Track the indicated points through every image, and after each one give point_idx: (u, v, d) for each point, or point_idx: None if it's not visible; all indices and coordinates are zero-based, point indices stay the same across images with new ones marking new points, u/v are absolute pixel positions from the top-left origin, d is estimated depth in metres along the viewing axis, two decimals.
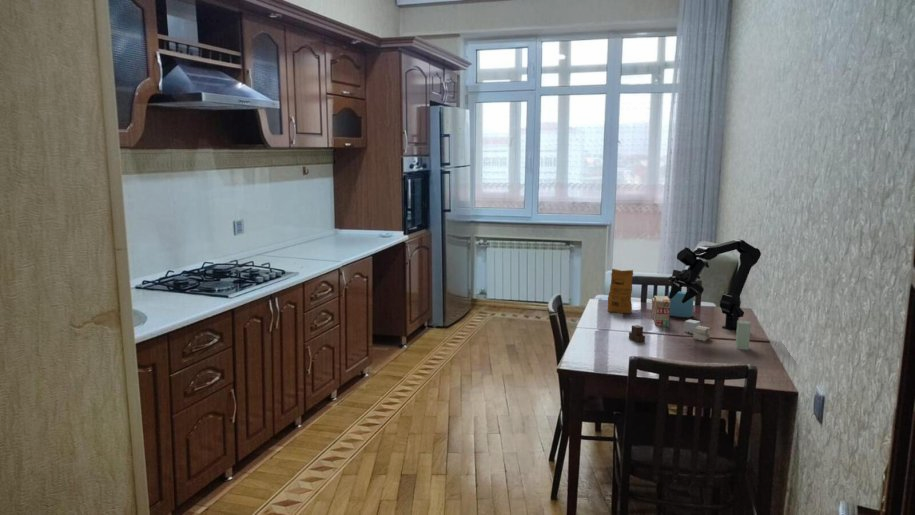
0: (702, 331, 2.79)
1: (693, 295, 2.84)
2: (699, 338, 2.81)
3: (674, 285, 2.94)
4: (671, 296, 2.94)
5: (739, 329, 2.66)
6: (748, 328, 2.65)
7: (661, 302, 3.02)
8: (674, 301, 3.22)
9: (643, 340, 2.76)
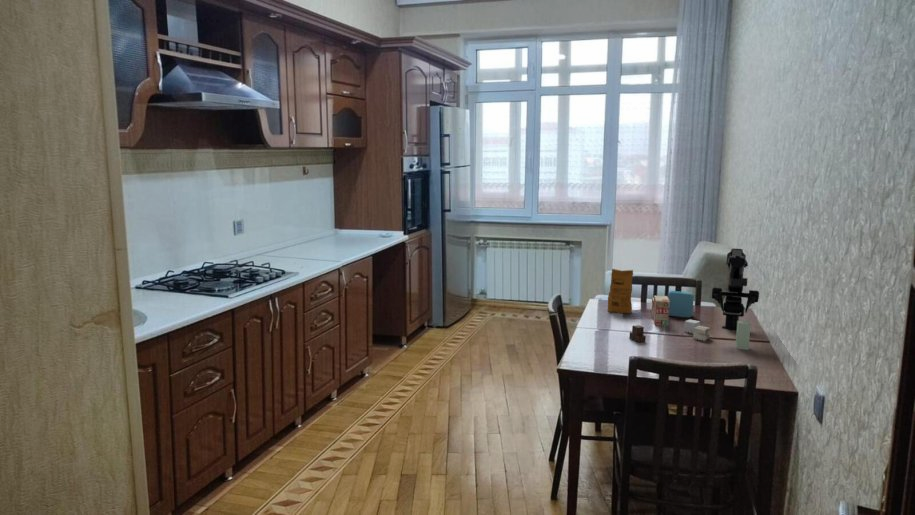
0: (702, 331, 2.79)
1: (750, 304, 2.77)
2: (699, 338, 2.81)
3: None
4: (723, 308, 2.78)
5: (739, 329, 2.66)
6: (748, 328, 2.65)
7: (660, 302, 3.02)
8: (674, 301, 3.22)
9: (644, 340, 2.76)
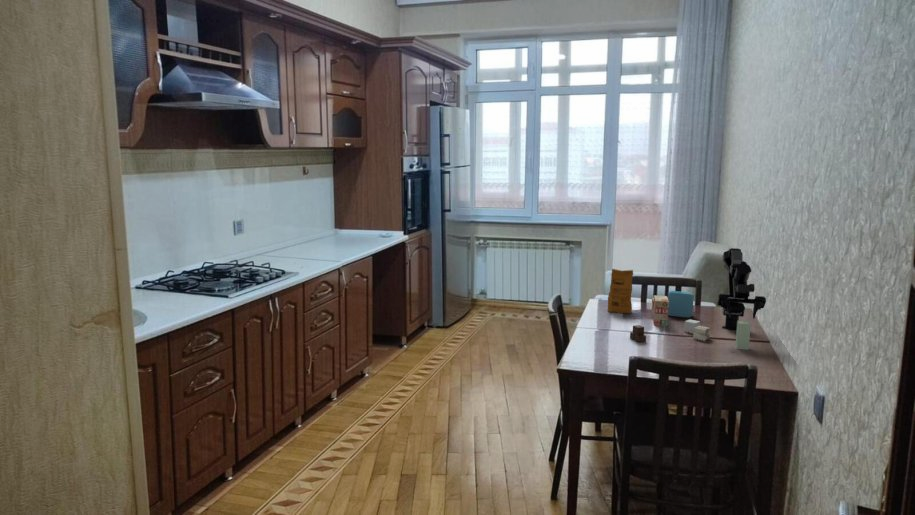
0: (702, 331, 2.79)
1: (756, 310, 2.75)
2: (699, 338, 2.81)
3: None
4: (731, 314, 2.74)
5: (739, 329, 2.66)
6: (748, 328, 2.65)
7: (660, 302, 3.02)
8: (674, 301, 3.22)
9: (644, 340, 2.76)
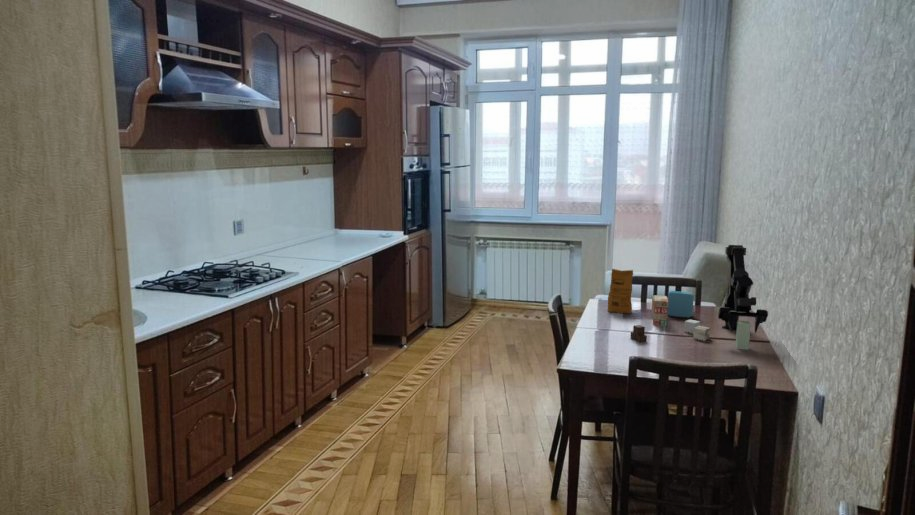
0: (702, 331, 2.79)
1: (758, 324, 2.70)
2: (699, 338, 2.81)
3: None
4: None
5: (739, 329, 2.66)
6: (748, 328, 2.65)
7: (659, 302, 3.02)
8: (674, 301, 3.22)
9: (645, 340, 2.76)
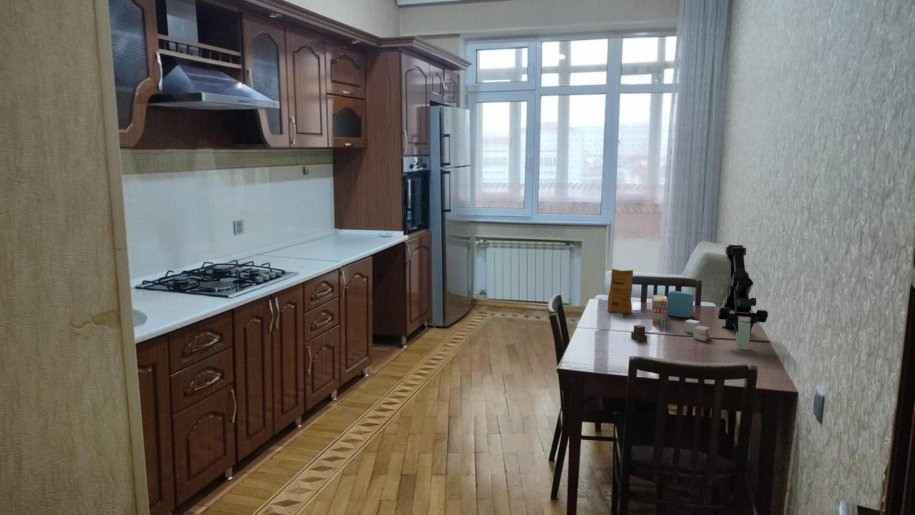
0: (702, 331, 2.79)
1: (753, 324, 2.70)
2: (699, 338, 2.81)
3: None
4: (737, 329, 2.68)
5: (739, 329, 2.66)
6: (748, 328, 2.65)
7: (658, 301, 3.03)
8: (674, 301, 3.22)
9: (645, 340, 2.77)
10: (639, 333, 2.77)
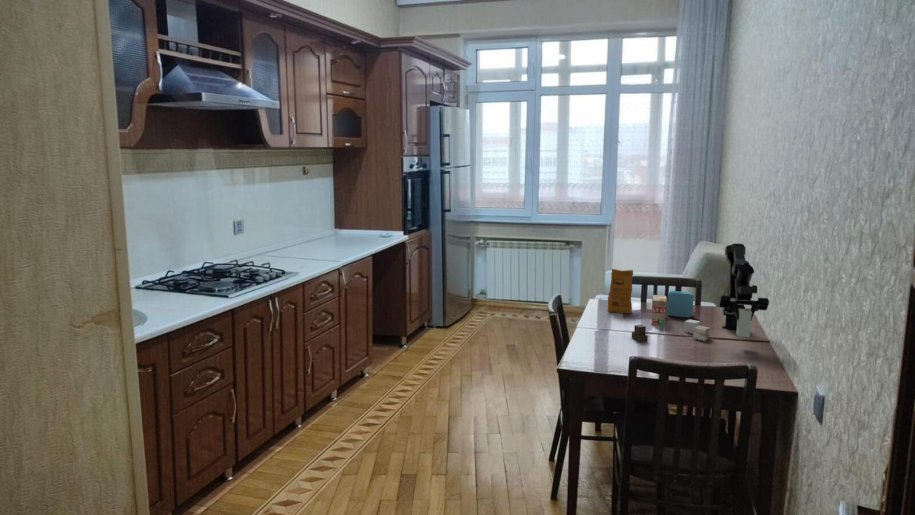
0: (702, 331, 2.79)
1: (754, 312, 2.69)
2: (699, 338, 2.81)
3: None
4: (738, 317, 2.67)
5: (740, 317, 2.66)
6: (749, 316, 2.65)
7: (657, 301, 3.03)
8: (674, 301, 3.22)
9: (646, 340, 2.77)
10: (640, 333, 2.77)
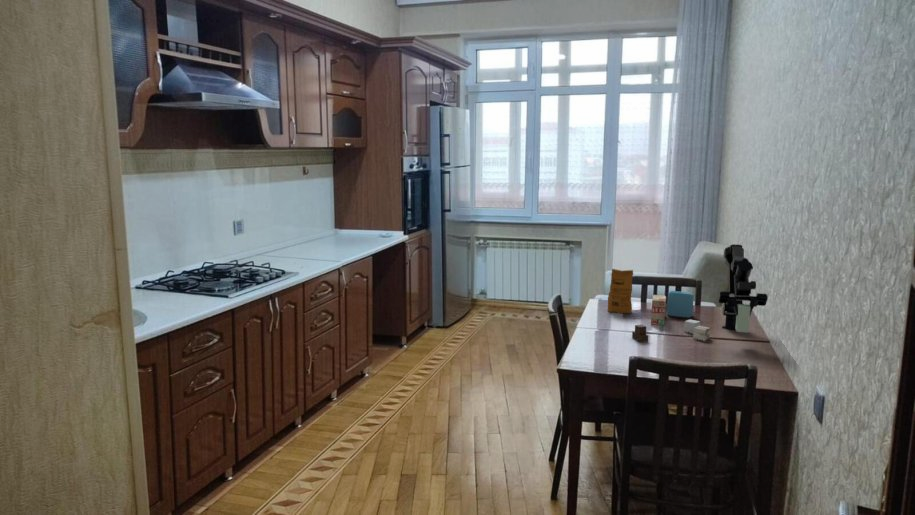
0: (702, 331, 2.79)
1: (752, 307, 2.72)
2: (699, 338, 2.81)
3: None
4: (737, 312, 2.71)
5: (739, 312, 2.69)
6: (748, 311, 2.68)
7: (656, 301, 3.03)
8: (674, 301, 3.22)
9: (646, 339, 2.77)
10: (640, 333, 2.78)
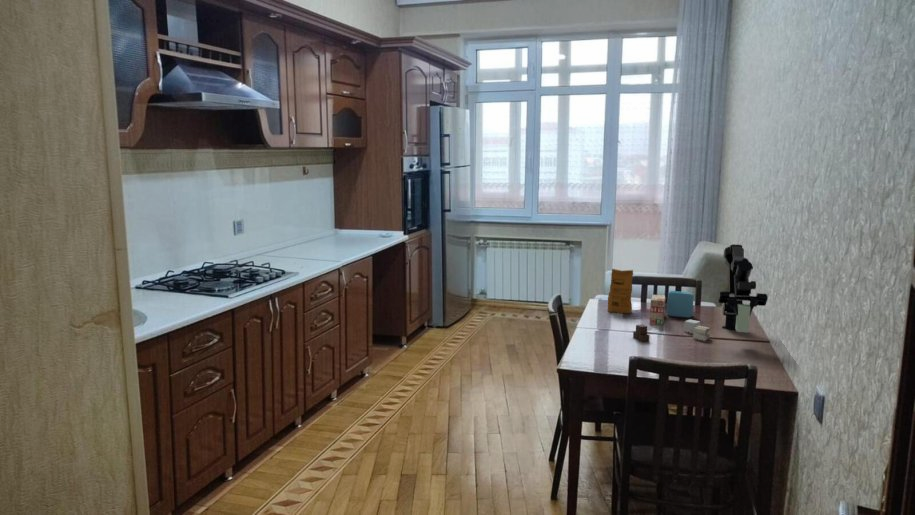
0: (702, 331, 2.79)
1: (752, 307, 2.72)
2: (699, 338, 2.81)
3: None
4: (737, 312, 2.71)
5: (739, 312, 2.69)
6: (748, 311, 2.68)
7: (655, 301, 3.04)
8: (674, 301, 3.22)
9: (647, 339, 2.77)
10: (641, 333, 2.78)
